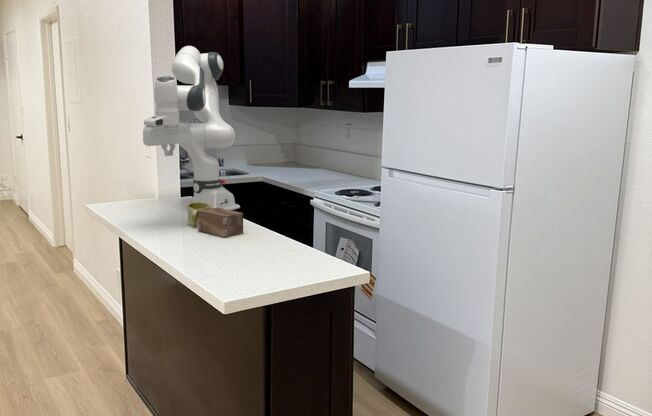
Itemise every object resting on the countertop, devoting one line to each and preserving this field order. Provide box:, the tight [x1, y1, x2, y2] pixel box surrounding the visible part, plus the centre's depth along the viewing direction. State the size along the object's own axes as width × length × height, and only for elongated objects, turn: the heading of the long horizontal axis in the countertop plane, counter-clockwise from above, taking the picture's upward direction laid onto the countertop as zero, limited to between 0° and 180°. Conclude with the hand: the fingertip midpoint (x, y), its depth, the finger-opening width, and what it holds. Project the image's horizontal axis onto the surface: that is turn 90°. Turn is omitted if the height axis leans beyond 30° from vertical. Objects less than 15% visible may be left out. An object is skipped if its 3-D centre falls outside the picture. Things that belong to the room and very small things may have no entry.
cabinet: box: [204, 208, 244, 238], centre depth 226 cm, size 8×15×8 cm, turn 49°
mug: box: [186, 202, 211, 227], centre depth 237 cm, size 12×10×10 cm
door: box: [196, 210, 227, 238], centre depth 222 cm, size 2×16×8 cm, turn 50°
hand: (168, 155), depth 229 cm, fingers closed
